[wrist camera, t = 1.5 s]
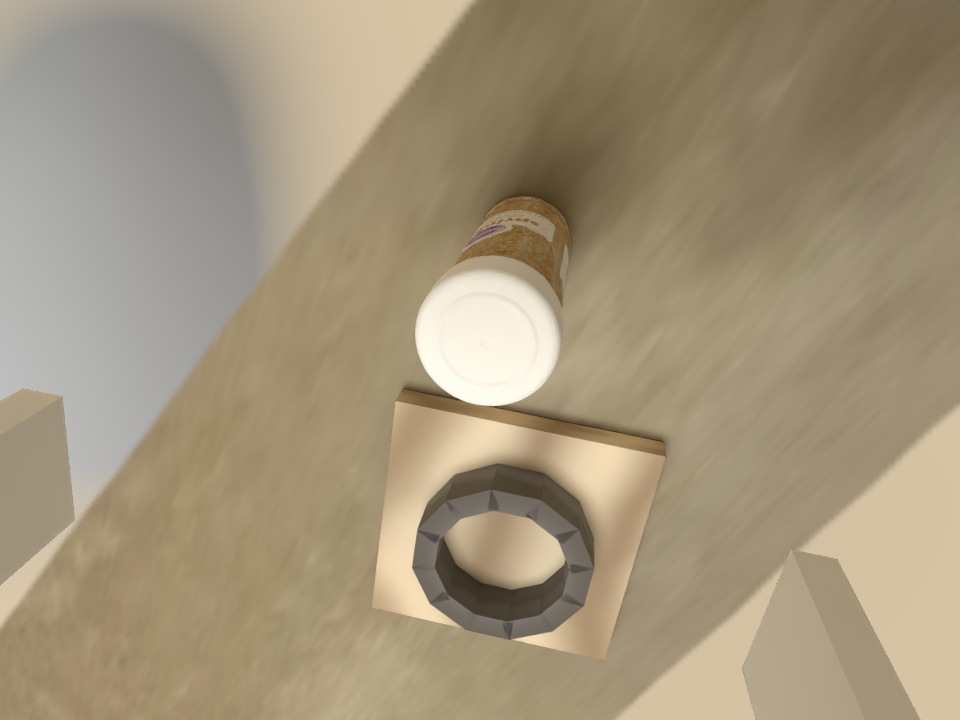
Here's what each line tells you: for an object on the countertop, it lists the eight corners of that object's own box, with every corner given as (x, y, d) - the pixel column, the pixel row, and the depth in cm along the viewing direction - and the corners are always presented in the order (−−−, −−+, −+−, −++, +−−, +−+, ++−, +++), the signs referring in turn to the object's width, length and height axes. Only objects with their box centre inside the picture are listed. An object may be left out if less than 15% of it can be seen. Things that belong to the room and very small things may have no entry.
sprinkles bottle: (527, 173, 32) (488, 237, 20) (592, 246, 33) (593, 351, 21) (457, 239, 34) (381, 336, 21) (521, 306, 34) (483, 437, 22)
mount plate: (663, 442, 36) (671, 483, 32) (603, 641, 42) (604, 695, 38) (402, 388, 37) (382, 423, 34) (379, 589, 43) (359, 638, 39)
